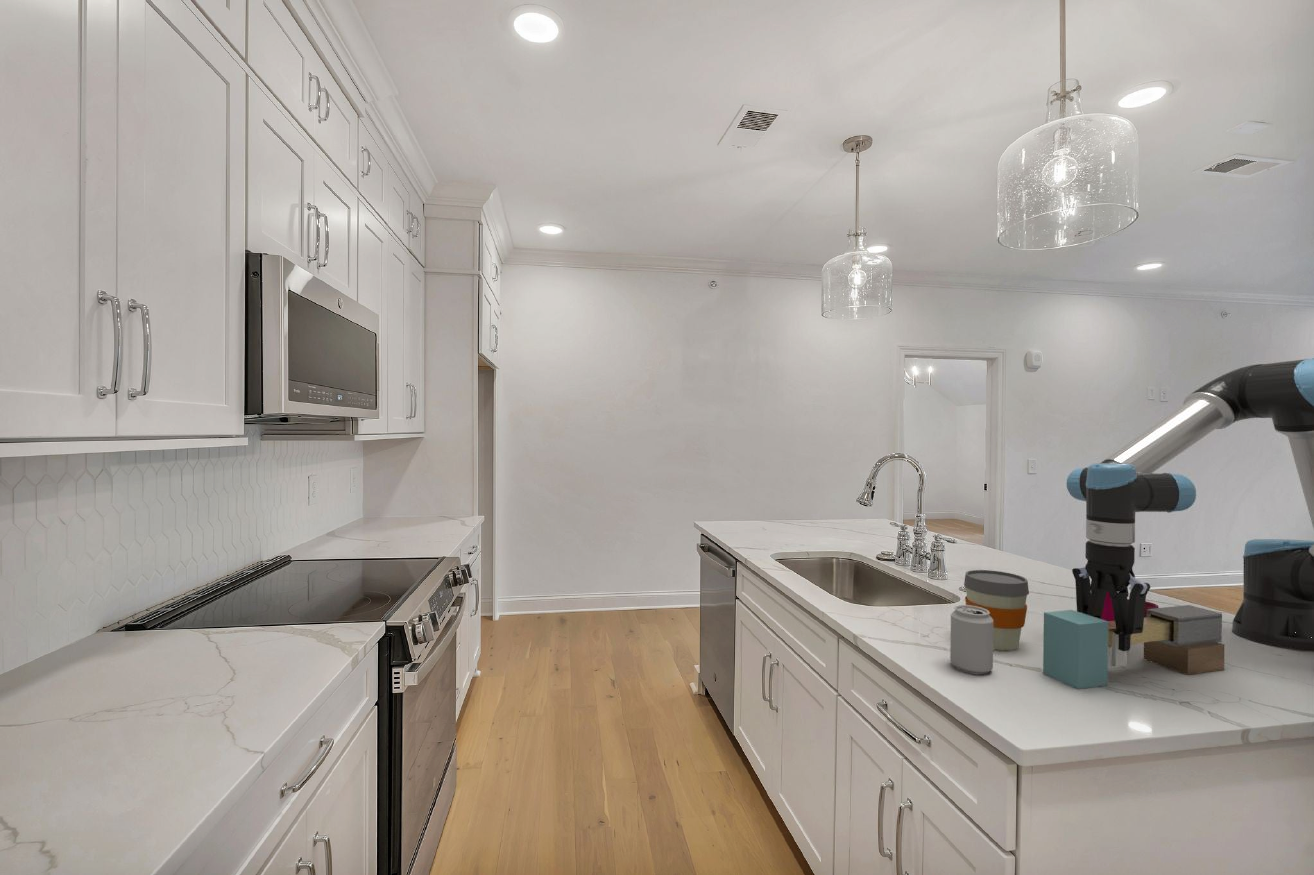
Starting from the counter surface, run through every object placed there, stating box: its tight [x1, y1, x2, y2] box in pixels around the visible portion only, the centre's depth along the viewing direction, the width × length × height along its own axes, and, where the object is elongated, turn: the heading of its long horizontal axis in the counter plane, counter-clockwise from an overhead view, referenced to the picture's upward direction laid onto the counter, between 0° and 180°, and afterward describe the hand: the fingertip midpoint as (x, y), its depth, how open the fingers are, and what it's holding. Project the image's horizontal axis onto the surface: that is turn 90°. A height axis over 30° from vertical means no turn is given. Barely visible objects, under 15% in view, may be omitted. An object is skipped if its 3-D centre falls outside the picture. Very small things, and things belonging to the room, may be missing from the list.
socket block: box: [1042, 609, 1109, 690], centre depth 109 cm, size 7×7×12 cm
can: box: [949, 604, 994, 675], centre depth 114 cm, size 8×8×12 cm
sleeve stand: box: [1143, 604, 1225, 676], centre depth 116 cm, size 12×8×11 cm, turn 105°
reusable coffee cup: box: [963, 569, 1030, 651], centre depth 128 cm, size 13×12×15 cm
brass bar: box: [1108, 616, 1174, 648], centre depth 113 cm, size 28×3×3 cm, turn 105°
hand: (1107, 661), depth 111 cm, fingers closed on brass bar, 3 cm apart
